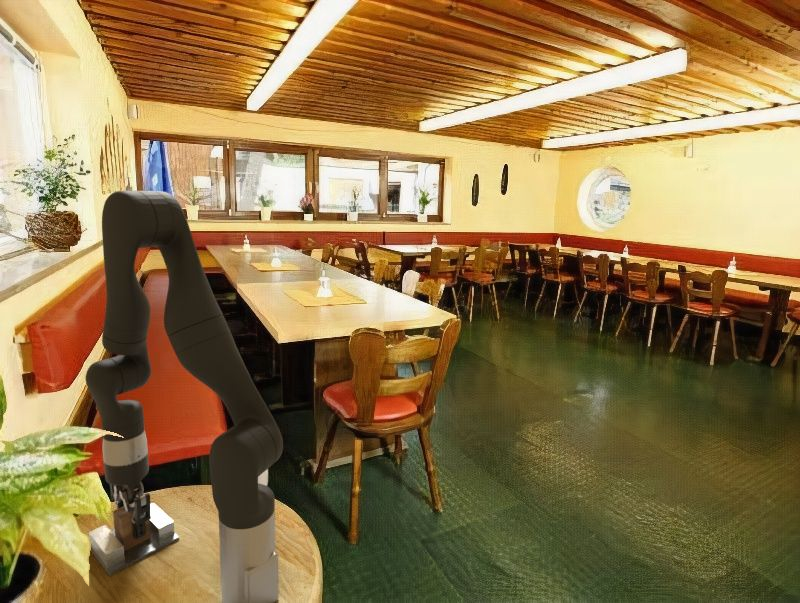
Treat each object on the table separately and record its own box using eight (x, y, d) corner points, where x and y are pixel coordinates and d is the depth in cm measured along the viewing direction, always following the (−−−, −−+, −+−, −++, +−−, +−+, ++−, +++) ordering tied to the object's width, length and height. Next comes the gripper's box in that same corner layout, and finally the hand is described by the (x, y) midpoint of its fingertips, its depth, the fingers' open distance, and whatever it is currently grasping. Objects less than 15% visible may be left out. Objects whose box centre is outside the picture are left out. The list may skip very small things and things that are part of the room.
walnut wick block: (150, 537, 96) (147, 507, 94) (124, 551, 92) (121, 520, 91) (141, 528, 98) (139, 499, 97) (115, 541, 94) (112, 511, 93)
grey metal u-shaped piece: (178, 539, 97) (178, 524, 96) (109, 576, 87) (108, 559, 86) (152, 513, 104) (151, 499, 103) (86, 544, 94) (84, 529, 93)
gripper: (162, 460, 90) (167, 535, 93) (130, 434, 98) (136, 504, 102) (120, 476, 84) (127, 556, 87) (90, 448, 93) (97, 521, 96)
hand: (132, 528), depth 95 cm, fingers open, 6 cm apart
